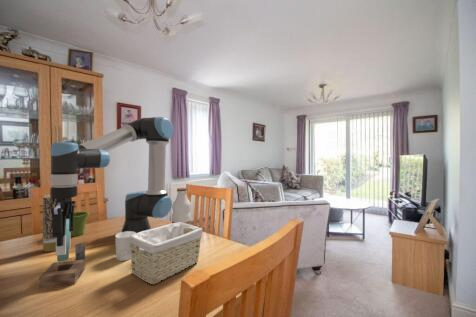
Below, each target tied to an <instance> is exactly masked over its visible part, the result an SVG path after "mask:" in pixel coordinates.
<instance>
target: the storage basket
mask: <svg viewBox="0 0 476 317" xmlns="http://www.w3.org/2000/svg"><path fill="white" fill-rule="evenodd" d="M184 230H186V231H189V233H187V234H184ZM202 236H203V228H202V227H198V226H195V225H192V224H191V225H189V224H186V223H182V222H178V223H172V222H171V223H168V224H164V225H162V226H161V225H160V226H158V227H154V228H151V229H149V230H145V231H142V232H139V233H136V234H133V235H131V236H130V240H129V242H130V247H131V248H130V250H131V259H130V261H131V266H130V267H131V273H132V274H133V275H135V276H137V277H138V278H139V279H141V280H142V281H144V282H146V283H147V282H148V284H149V283H150V285H151V284H153V285H155V283H156V284H158V283H161V282H162V281H163V280H166V279H168V278H170V277H172V276H174V275H175V273H176V274H178V273H180V272H182V271H181V270H183V271H184V269H185V268H186V269H188V268H190V267H191V265H192V266H194V265H195V263H196V264H198V263H197V262H199V256H200V252H201V251H200V248H201V243H202V242H201V240H202ZM193 264H194V265H193ZM189 266H190V267H189ZM186 269H185V270H186ZM179 271H180V272H179ZM169 276H170V277H169ZM167 277H168V278H167ZM161 280H162V281H161Z"/></svg>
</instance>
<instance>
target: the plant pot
mask: <svg viewBox="0 0 476 317" xmlns="http://www.w3.org/2000/svg"><path fill="white" fill-rule="evenodd" d="M89 214H90V212H88V211H74V222H73V228H74V230H73V231H70V232H71V238H72V237H79V236H80V235H83V234H85V228H86V223H87V220H88V215H89Z"/></svg>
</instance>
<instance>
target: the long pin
mask: <svg viewBox="0 0 476 317" xmlns="http://www.w3.org/2000/svg"><path fill="white" fill-rule="evenodd" d="M65 235H66V254H65V255H56V256H57V257H56V258H57V262H66V261H68V260H69V259H70V258H69V257H70V250H69V219H66V227H65Z"/></svg>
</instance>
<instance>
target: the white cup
mask: <svg viewBox="0 0 476 317" xmlns="http://www.w3.org/2000/svg"><path fill="white" fill-rule="evenodd" d="M133 234H136V233H135V232H133V231H126V232H121V231H120V232H118V233H117V234H115V236H114V238H115V252H116V257H115V258H116V260H117V261H120V262H124V261H129V260H131V250H130V248H131V247H130V242H129V240H130V236H131V235H133Z"/></svg>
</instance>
